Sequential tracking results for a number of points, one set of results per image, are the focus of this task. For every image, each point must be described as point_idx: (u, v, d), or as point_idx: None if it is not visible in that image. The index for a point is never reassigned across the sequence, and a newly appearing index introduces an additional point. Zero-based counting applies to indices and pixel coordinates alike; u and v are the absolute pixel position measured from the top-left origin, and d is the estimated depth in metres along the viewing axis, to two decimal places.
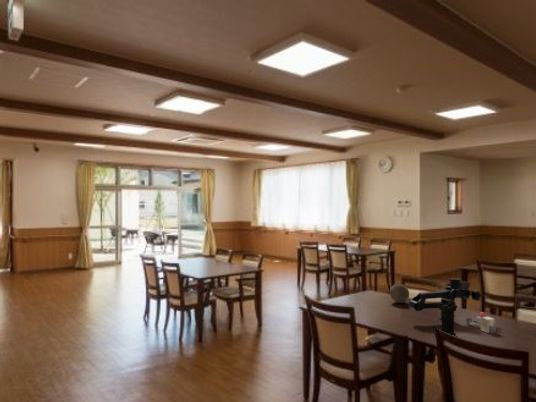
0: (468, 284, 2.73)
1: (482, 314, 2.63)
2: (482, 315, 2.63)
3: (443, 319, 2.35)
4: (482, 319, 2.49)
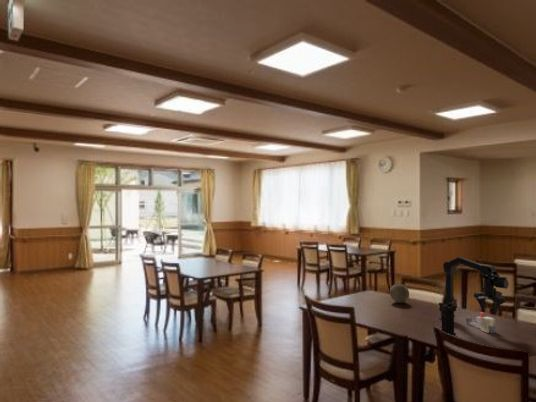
0: (500, 295, 2.48)
1: (482, 314, 2.63)
2: (482, 315, 2.63)
3: (443, 319, 2.35)
4: (482, 319, 2.49)
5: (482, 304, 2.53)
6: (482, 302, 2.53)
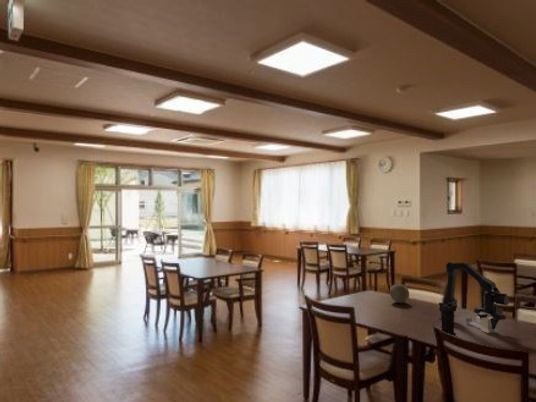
0: (501, 311, 2.47)
1: None
2: None
3: (443, 319, 2.35)
4: (483, 319, 2.49)
5: None
6: None
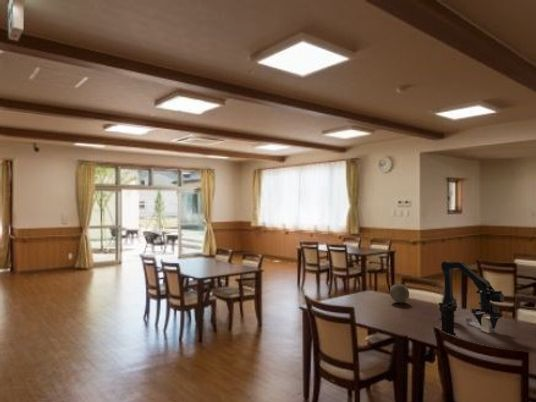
0: (497, 310, 2.50)
1: None
2: None
3: (443, 319, 2.35)
4: (483, 319, 2.49)
5: (480, 320, 2.54)
6: (480, 318, 2.54)
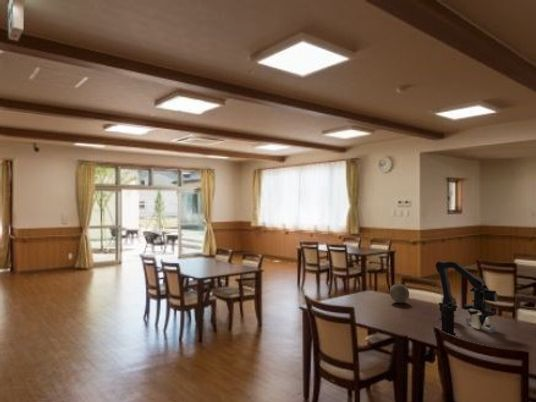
0: (489, 308, 2.55)
1: None
2: None
3: (443, 319, 2.35)
4: (473, 316, 2.56)
5: None
6: None
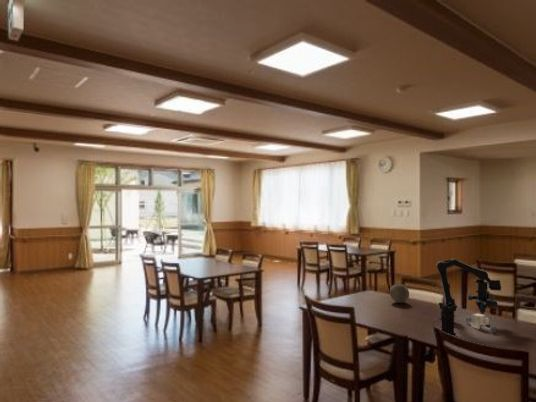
0: (493, 298, 2.64)
1: None
2: None
3: (443, 319, 2.35)
4: (473, 316, 2.56)
5: None
6: None
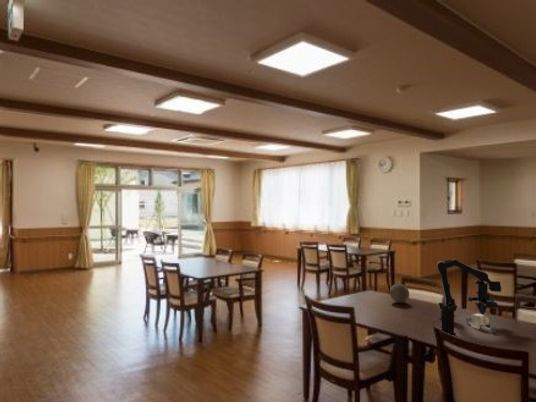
0: (493, 299, 2.64)
1: None
2: None
3: (443, 319, 2.35)
4: (473, 316, 2.56)
5: None
6: None
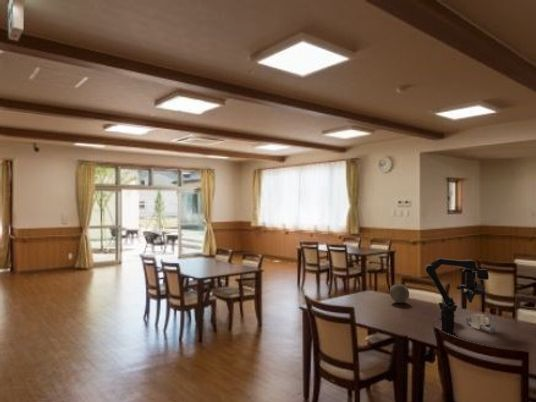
0: (481, 287, 2.66)
1: None
2: None
3: (443, 319, 2.35)
4: (473, 316, 2.56)
5: None
6: None
